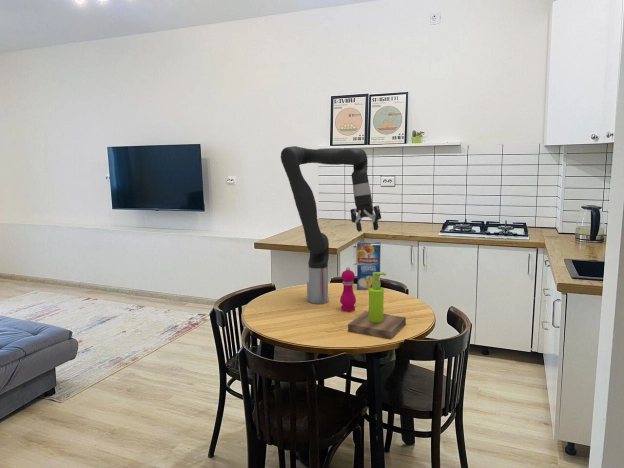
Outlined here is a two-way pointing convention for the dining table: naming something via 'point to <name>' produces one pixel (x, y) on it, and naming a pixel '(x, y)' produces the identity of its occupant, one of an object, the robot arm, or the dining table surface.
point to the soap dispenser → (376, 299)
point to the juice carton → (367, 263)
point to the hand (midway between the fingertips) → (367, 230)
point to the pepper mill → (348, 291)
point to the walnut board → (377, 325)
